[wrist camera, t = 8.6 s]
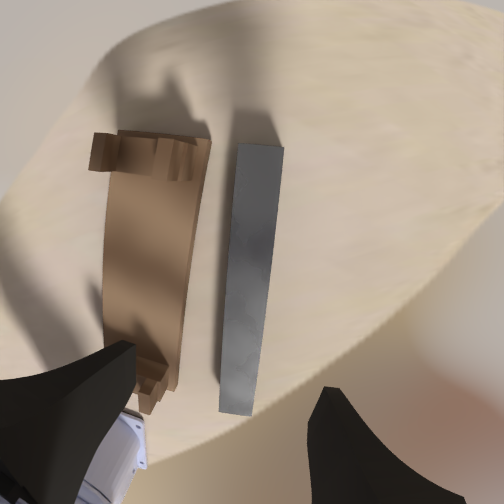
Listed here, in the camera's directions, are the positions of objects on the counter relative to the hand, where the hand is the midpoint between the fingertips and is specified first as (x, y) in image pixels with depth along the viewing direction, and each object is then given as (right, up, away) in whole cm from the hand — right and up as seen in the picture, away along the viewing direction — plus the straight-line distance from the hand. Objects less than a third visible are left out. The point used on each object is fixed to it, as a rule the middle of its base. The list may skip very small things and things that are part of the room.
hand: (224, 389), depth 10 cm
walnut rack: (-6, +4, +9) cm, 12 cm away
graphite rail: (+1, +3, +9) cm, 10 cm away
